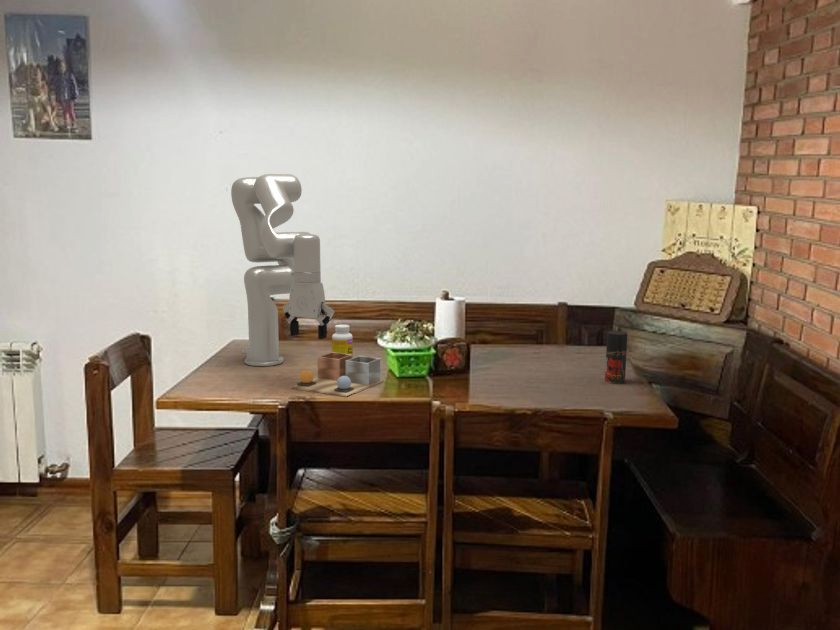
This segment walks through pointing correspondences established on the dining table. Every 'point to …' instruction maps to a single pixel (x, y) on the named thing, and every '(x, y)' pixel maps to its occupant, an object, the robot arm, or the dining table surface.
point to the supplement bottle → (342, 340)
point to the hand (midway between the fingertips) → (308, 336)
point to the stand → (344, 374)
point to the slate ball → (344, 382)
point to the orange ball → (306, 377)
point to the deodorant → (616, 357)
